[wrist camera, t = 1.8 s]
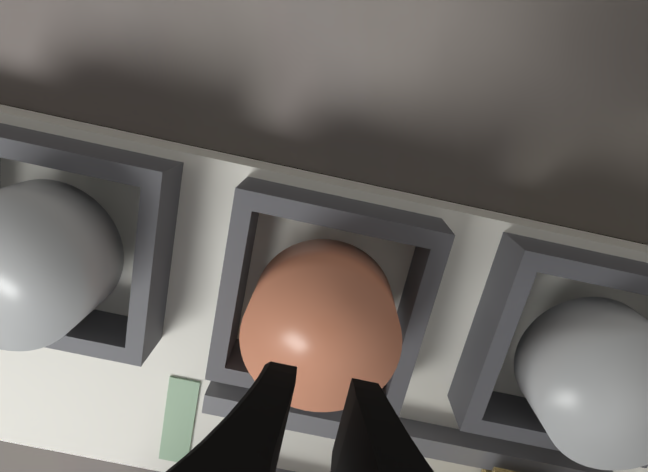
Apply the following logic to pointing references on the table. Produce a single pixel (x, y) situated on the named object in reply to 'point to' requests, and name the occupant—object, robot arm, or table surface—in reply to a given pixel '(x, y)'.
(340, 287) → the terracotta button
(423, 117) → the table surface
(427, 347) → the panel
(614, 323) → the grey button
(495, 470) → the brass slider
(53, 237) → the grey button
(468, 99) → the table surface
